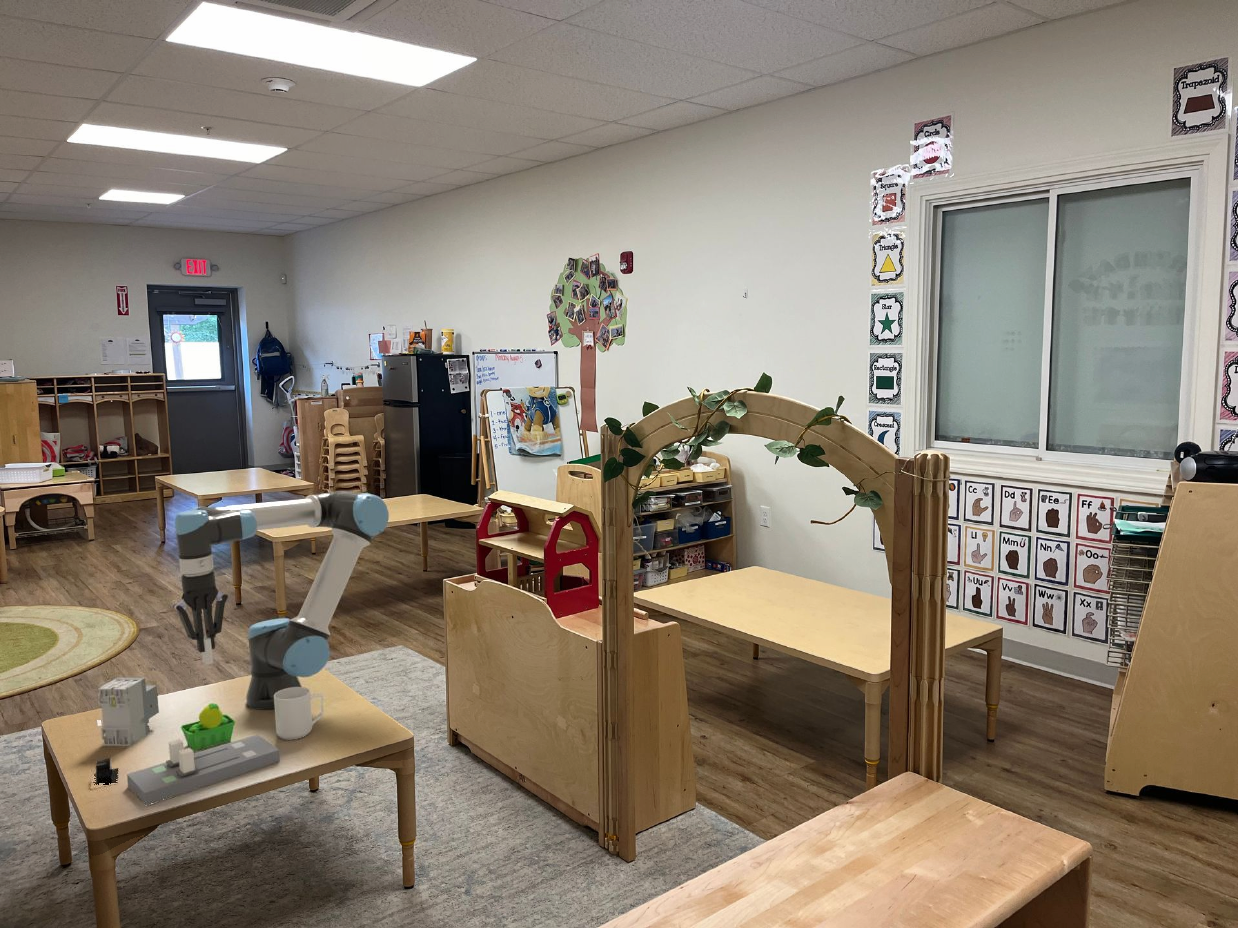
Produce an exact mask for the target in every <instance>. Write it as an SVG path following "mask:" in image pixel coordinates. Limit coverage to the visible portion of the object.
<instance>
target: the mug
mask: <svg viewBox="0 0 1238 928" xmlns="http://www.w3.org/2000/svg"><path fill="white" fill-rule="evenodd" d="M315 697H317V698H320V702H321V703H320V704H321V705H320V713H319V714H318V715H317V716H316V717H314V719H313V717H312V716H313V715H312V713H313V712H312V701H311V700H312V699H313V698H315ZM274 707H275V709H274V719H275V720H274V721H275V733H276V735H277V737H279V738H280V739H281V740H285V741H294V740H293V739H295V740H299V739H298V738H300V739H302V738H301V737H303V738H305V737H306V735H307V734H308V733H309V734H310V733H311V731H312V729H313V726H314V725H315V723H317V722H318V720H320V719H321V718H322V717H323V716H324V694H323V693H313V694H311V690H310V688H308V687H304V686H302V687H291V688H286V689H283V690H280V691H278V692H276V693H275V694H274ZM309 734H308V735H309ZM308 735H307V736H308ZM304 736H305V737H304Z"/></svg>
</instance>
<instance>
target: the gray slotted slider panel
mask: <svg viewBox="0 0 1238 928" xmlns="http://www.w3.org/2000/svg"><path fill="white" fill-rule="evenodd" d="M279 761H280V762H281V757H280V749H279V748H277V747H276V746H274V745H273V744H272V743H270V742H269V741H268V740H266V739H264V737H262V736H261V735H260V734H254V735H250V736H247V737H243V738H241V739H237V740H235V741H230V742H226V743H225V744H221V745H219V746H215V747H211V748H208V749H205V750H202V751H198V752H194V765H195V766H196V767H197V768H198V769H199V771H198V772H195V773H192V774H189V775H186V776H183V777H180V776H179V775H178V774H177V773H176V770H179V769H180V765H176V766H173V767H170V766H169V765H168V764H167V763H166V761H165V762H163V763H159V764H156V765H153V766H149V767H146V768H143V769H140V770H136V771H133V772H130V773H127V774H126V776H127V777H126V778H127V787H128V788H129V789H130V790H131V791H132V792H133V793H134V795H135V794H136V795H135V796H136V797H137V796H138V797H139V798H138V797H137V798H138V800H140V799H141V800H140V801H141V802H142V801H143V802H142V804H145V805H148V806H150V805H149V804H151V803H154V804H156V803H155V802H157V801H160V802H162V801H161V800H163V799H166V800H168V798H169V799H171V798H170V797H172V798H174V796H175V797H177V795H178V796H181V795H184V794H186V793H190V792H193V791H195V790H198V788H199V789H201V788H204V787H208V786H210V785H214V784H217V783H219V782H220V783H221V782H223V781H226V780H229V779H231V778H234V777H237V776H240V775H244V774H246V773H250V772H253V771H256V770H259V769H262V768H265V767H269V766H271V765H273V764H276V763H280V762H279ZM192 790H193V791H192ZM180 794H181V795H180ZM163 801H164V800H163ZM157 803H158V802H157ZM145 805H144V806H145ZM151 805H152V804H151Z"/></svg>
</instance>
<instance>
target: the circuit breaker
mask: <svg viewBox="0 0 1238 928" xmlns="http://www.w3.org/2000/svg"><path fill="white" fill-rule="evenodd" d="M97 691H98V692H99V693H98V694H97V699H98V705H99V706H101V717H102V727H101V728H100V733H101V740H103V743H102V746H105V745H106V746H107V747H108V746H111V747H113V746H114V747H132V745H134V744H135V743H137V742H138V741H140V740H142V739H143V738H144V737H146V736H148V735H149V734H150V733H151V730H150V729H151V728H150V725H148V724H149V723H150V719H151V718H153V717H154V716H156V715H157V714H160V710H159V699H158V697H159V692H158V686H157V685H147V683H146V678H145V677H116V678H114V679H112V680H111V681H109V682H107V683H105V684H103V685H102V686H100V687H98V688H97ZM106 746H105V747H106Z"/></svg>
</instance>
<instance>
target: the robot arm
mask: <svg viewBox="0 0 1238 928" xmlns="http://www.w3.org/2000/svg"><path fill="white" fill-rule="evenodd" d="M389 513H390V512H389V510H388V506H387V504H386V502H385V501H384V500H383V498H381V497H380V496H378V495H375V494H371V493H369V492H359V491H350V490H339V491H338V490H337V491H331V492H323V493H318V494H309V495H307V496H306V497H305V498H303V499H289V500H279V501H268V502H257V503H256V502H255V503H246V504H235V505H234V504H233V505H224V506H213V507H212V506H211V507H210V506H209V507H208V506H195V507H193V508H192V509H190V510H185V511H181V512H179V513H178V514H176V515H175V519H174V526H175V532H174V533H175V535H176V542H177V543H176V544H177V550H178V560H179V568H180V569H179V570H180V571H179V572H180V574H182V575H181V577H180V579H181V585H182V596H181V600H180V601H179V602H178V603H176V604H173V605H172V608H173V609H174V610H175V611H176V612H177V613H178V617H179V618H180V621H181V623H182V625H183V628H184V631H185V633H186V635H187V638H188V639H190V640H193V641H194V640H195V641H196V646H197V651H198V653H199V652H200V653H201V658H202V663H203V664H205V665H207V666H208V665H211V664H214V657H213V656H214V655H213V650H215V648H216V642H215V638H216V636H217V635H218V634H219V633H221V632H222V627H223V619H224V614H225V606H226V603H227V600H228V599H229V595H228V594H226V593H224V592H219V590H218V588H217V587H216V586H217V585H216V584H217V583H216V576H215V575H216V574H215V572H214V568H215V567H214V559H213V550H212V549H213V546H217V545H223V544H227V543H230V542H231V543H232V542H236V541H240V540H241V541H244V540H245V539H248V538H252V537H254V536H255V535H256V534H257V531H265V530H271V529H272V530H273V529H280V528H282V529H283V528H290V527H299V526H308V527H309V528H311V529H312V528H329V529H330V530H331V533H332V535H333V539H332V540H331V542H330V545H329V547H328V550H327V552H326V554H325V555H324V558H323V560H322V562H321V565H320V567H319V569H318V571H317V574H316V576H315V578H314V580H313V582H312V584H311V587H310V589H309V591H308V594H307V596H306V598H305V600H304V602H303V604H302V606H301V609H300V611H299V613H298V615H297V616H295V617H293V618H287V617H285V618H274V619H268V620H263V621H260V622H257V623H253V624H252V625H250V627H249V628H248V635H247V636H248V637H247V640H248V646H249V647H248V649H249V660H250V661H249V662H250V670H251V671H250V674H251V675H250V676H251V677H250V681H249V683H248V684H249V685H248V687H247V688H248V689H247V693H246V696H245V698H246V705H247V706H248V707H249V708H252V709H256V710H275V707H274V694H275V693H276V692H278V691H280V690H283V689H286V688H291V687H303V686H302V684H301V681H300V679H299V678H310V677H312V676H315V675H316V674H318V673H320V671H322V670H323V668H325V667H326V665H327V664H328V663H329V662H328V661H329V659H330V655H331V649H330V645H329V639H330V636H331V632H330V629H329V625H330V622H331V620H332V618H333V616H334V613H335V612H336V609H337V607H338V605H339V602H340V600H341V599H342V596H343V593H344V590H345V589H346V587H347V584H348V582H349V579H350V578H351V575H352V573H353V570H354V568H355V566H356V563H357V561H358V558H359V557H360V555H361V552H362V550H363V548H366V547H368V546H370V545H371V543H372V541H373V539H374V537H375V536H377V535H380V534H381V533H382V532H384V530H386V529H387V526H388V523H389V518H390V514H389ZM215 600H216V602H215V607H214V616H213V604H214V601H215ZM186 606H188V607H189V608H190V609H191V613H192V619H193V625H192V622H191V619H190V618H189V615H188V613H187V611H186V609H187V607H186ZM202 614H203V615H202ZM203 620H204V625H203ZM204 629H205V633H204ZM205 635H206V636H205Z"/></svg>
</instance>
